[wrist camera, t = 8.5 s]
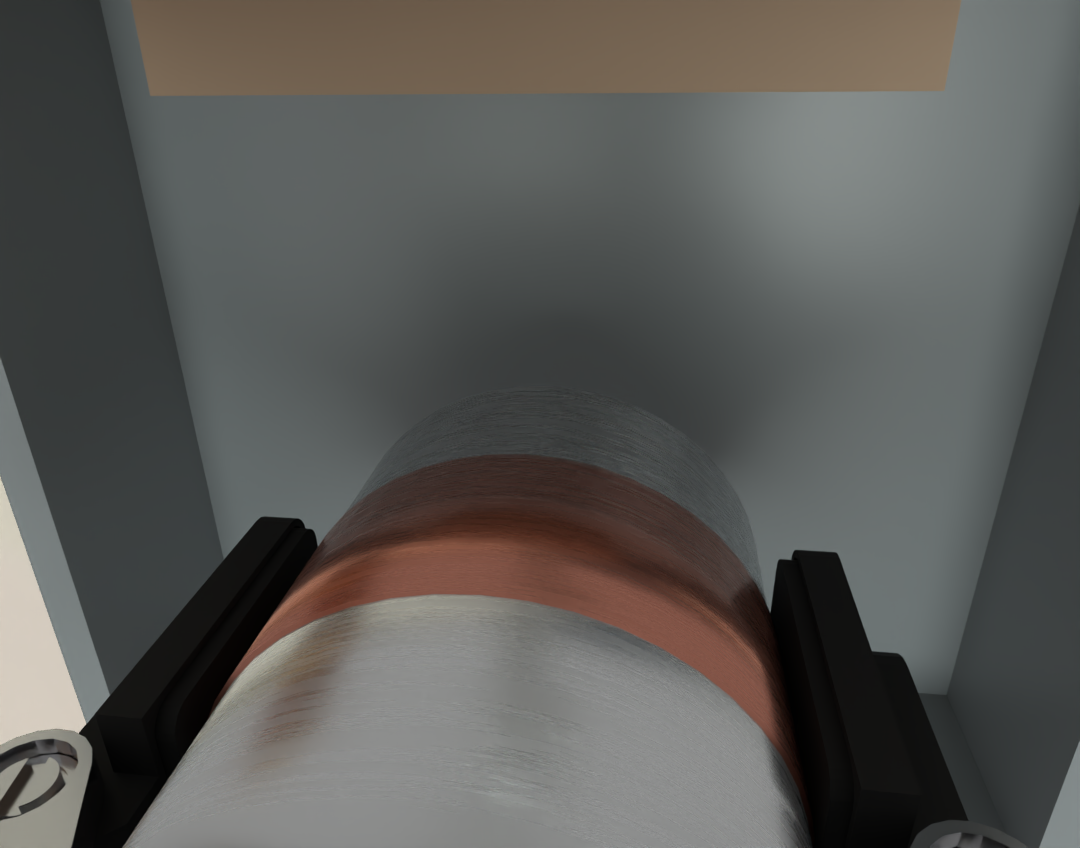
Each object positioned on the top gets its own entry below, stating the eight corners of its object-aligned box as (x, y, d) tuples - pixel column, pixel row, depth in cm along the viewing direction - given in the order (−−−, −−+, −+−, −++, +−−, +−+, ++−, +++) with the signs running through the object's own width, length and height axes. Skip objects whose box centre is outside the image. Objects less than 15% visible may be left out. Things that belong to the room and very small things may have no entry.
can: (327, 374, 12) (-46, 751, 6) (785, 392, 11) (948, 859, 5) (373, 708, 15) (156, 1209, 8) (740, 742, 14) (806, 1326, 8)
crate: (-49, -583, 11) (-505, -977, 7) (1380, -761, 9) (2064, -1515, 5) (230, 639, 21) (114, 803, 16) (964, 702, 19) (1059, 911, 14)
